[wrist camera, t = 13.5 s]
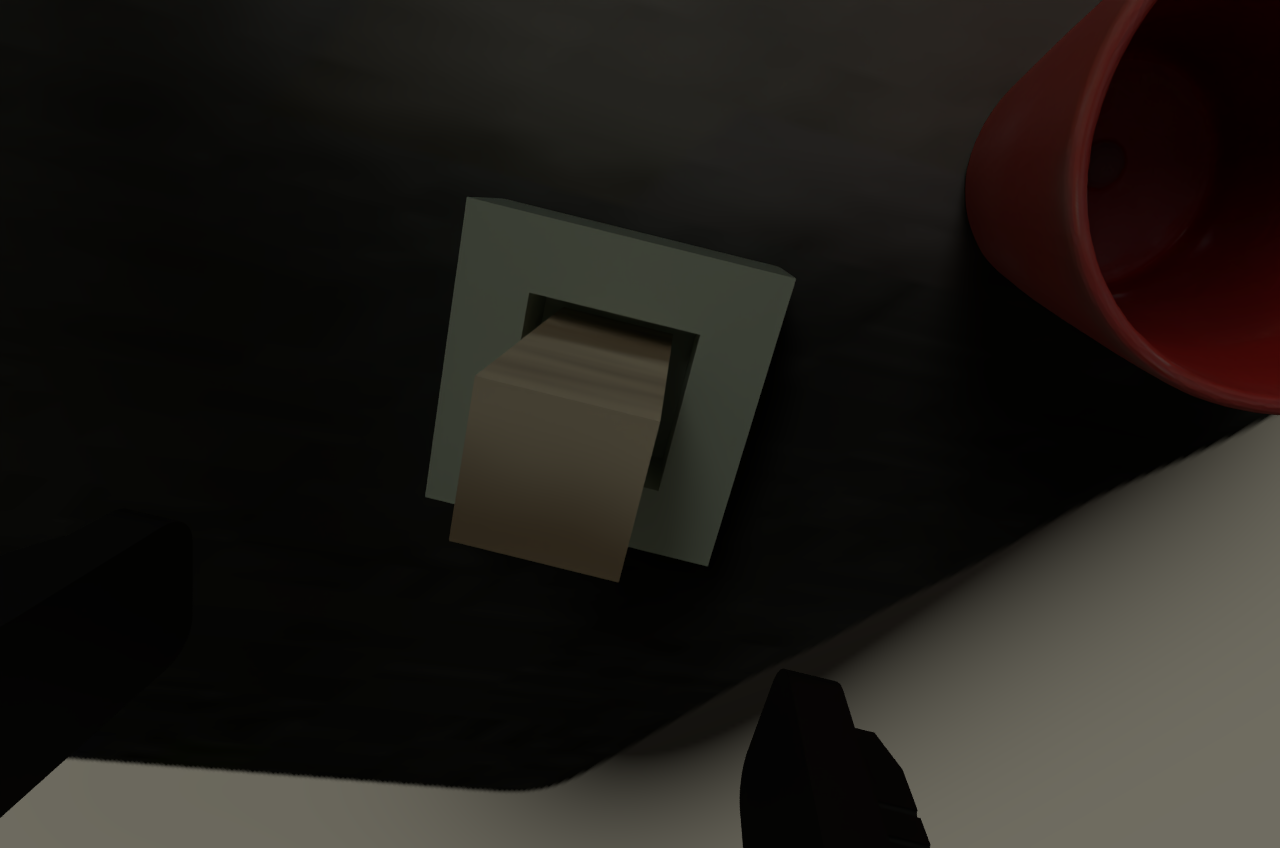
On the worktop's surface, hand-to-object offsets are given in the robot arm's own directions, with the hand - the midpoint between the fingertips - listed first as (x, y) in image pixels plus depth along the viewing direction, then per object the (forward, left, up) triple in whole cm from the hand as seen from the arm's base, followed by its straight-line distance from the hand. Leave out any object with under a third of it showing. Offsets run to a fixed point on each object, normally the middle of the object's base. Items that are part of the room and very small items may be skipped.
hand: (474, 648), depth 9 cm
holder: (0, 0, -17) cm, 17 cm away
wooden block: (0, 0, -16) cm, 16 cm away
